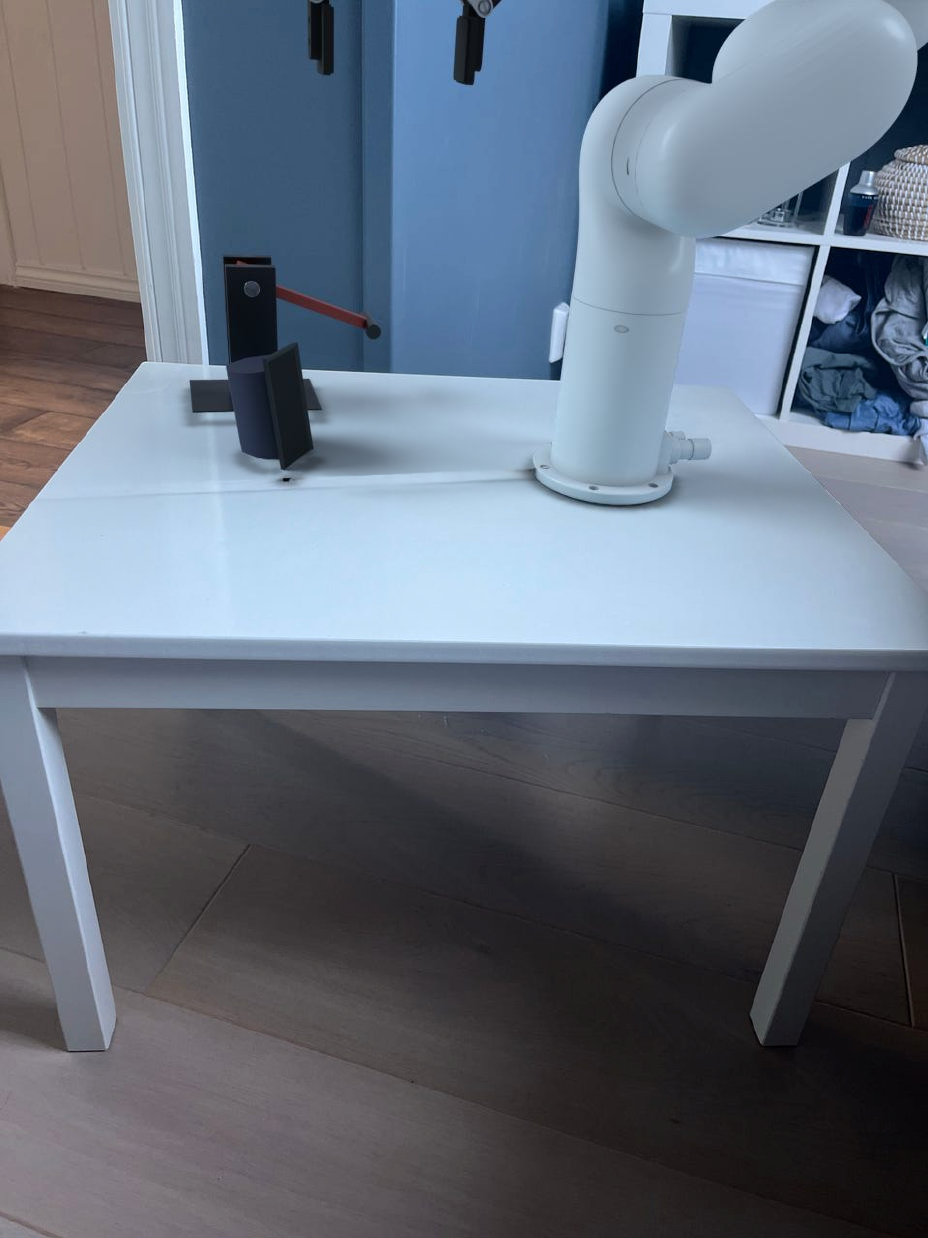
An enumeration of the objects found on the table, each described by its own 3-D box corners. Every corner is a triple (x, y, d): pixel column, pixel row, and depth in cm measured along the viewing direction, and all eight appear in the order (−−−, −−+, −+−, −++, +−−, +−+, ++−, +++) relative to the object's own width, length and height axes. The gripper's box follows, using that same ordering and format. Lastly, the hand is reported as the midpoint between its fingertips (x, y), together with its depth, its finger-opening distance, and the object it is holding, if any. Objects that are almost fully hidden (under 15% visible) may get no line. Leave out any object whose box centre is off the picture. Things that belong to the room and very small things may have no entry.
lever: (367, 331, 98) (375, 308, 97) (376, 346, 94) (385, 322, 93) (229, 281, 92) (236, 256, 91) (232, 294, 88) (240, 269, 87)
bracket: (309, 389, 101) (308, 251, 94) (321, 420, 94) (320, 273, 87) (190, 391, 98) (179, 248, 91) (193, 423, 91) (181, 271, 84)
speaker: (335, 462, 85) (322, 343, 80) (285, 483, 81) (268, 359, 76) (277, 445, 90) (261, 331, 84) (227, 464, 86) (208, 346, 80)
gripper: (263, -291, 52) (272, 74, 61) (564, -242, 57) (532, 91, 66) (251, -262, 58) (261, 66, 67) (525, -220, 63) (500, 82, 72)
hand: (395, 78), depth 66 cm, fingers open, 9 cm apart
